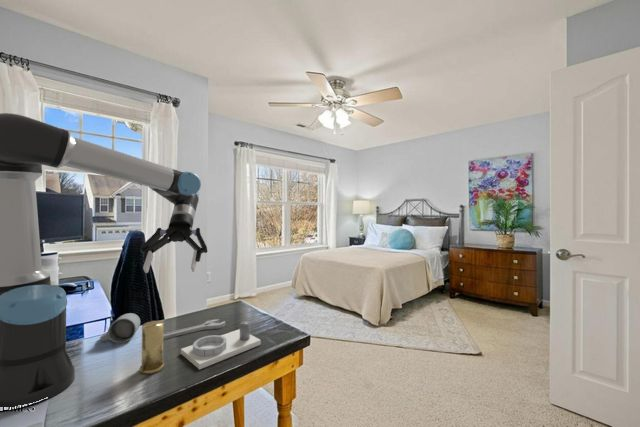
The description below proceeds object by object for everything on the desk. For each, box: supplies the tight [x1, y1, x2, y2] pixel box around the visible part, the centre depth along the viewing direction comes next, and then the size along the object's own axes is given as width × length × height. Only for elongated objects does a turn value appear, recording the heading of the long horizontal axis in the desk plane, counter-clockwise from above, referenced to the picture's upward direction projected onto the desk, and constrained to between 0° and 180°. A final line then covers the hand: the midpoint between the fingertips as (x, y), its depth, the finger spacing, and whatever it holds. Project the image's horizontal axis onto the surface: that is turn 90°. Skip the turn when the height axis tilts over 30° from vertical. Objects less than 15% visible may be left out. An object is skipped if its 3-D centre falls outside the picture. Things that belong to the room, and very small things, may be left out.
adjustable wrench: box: [163, 318, 226, 340], centre depth 101 cm, size 25×6×2 cm, turn 124°
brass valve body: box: [139, 320, 166, 376], centre depth 77 cm, size 6×6×12 cm
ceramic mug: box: [99, 312, 141, 344], centre depth 94 cm, size 11×8×8 cm
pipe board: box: [180, 320, 262, 370], centre depth 88 cm, size 20×12×6 cm, turn 138°
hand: (169, 270), depth 89 cm, fingers open, 13 cm apart
